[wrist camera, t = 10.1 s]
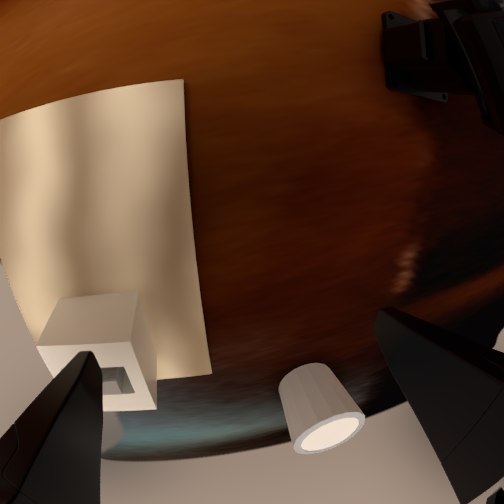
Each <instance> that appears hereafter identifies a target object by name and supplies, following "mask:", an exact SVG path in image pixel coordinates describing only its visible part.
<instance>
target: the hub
mask: <svg viewBox="0 0 504 504" xmlns="http://www.w3.org/2000/svg"><path fill="white" fill-rule="evenodd" d="M36 347H37V349H38V351H39V353H40V355H41V357H42V358H43V360H44V362H45V364H46V365H47V367H48V369H49V371H50V373H51V374H52V376H53V378H55V377H56V375H57V374H58V373H59V372H60V371H61V370H62V369H63V368H64V367H65V366H66V365H67V364H68V363H69V362H70V361H71V360H72V359H73V357H74V356H75V355H76V354H77V353H78V352H80V351H92V352H93V353H94V355H95V357H96V359H97V361H98V364H99V366H100V368H106V367H124V368H125V375H124V383H123V393H122V394H120V395H103V411H133V410H152V409H157V355H156V351H155V348H154V345H153V341H152V338H151V335H150V331H149V327H148V324H147V320H146V316H145V313H144V309H143V305H142V301H141V297H140V293H139V291H130V292H121V293H111V294H101V295H91V296H81V297H70V298H59V300H58V302H57V304H56V306H55V308H54V310H53V312H52V313H51V315H50V317H49V319H48V321H47V323H46V325H45V327H44V330H43V332H42V334H41V336H40V338H39V340H38V342H37V344H36Z"/></svg>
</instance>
